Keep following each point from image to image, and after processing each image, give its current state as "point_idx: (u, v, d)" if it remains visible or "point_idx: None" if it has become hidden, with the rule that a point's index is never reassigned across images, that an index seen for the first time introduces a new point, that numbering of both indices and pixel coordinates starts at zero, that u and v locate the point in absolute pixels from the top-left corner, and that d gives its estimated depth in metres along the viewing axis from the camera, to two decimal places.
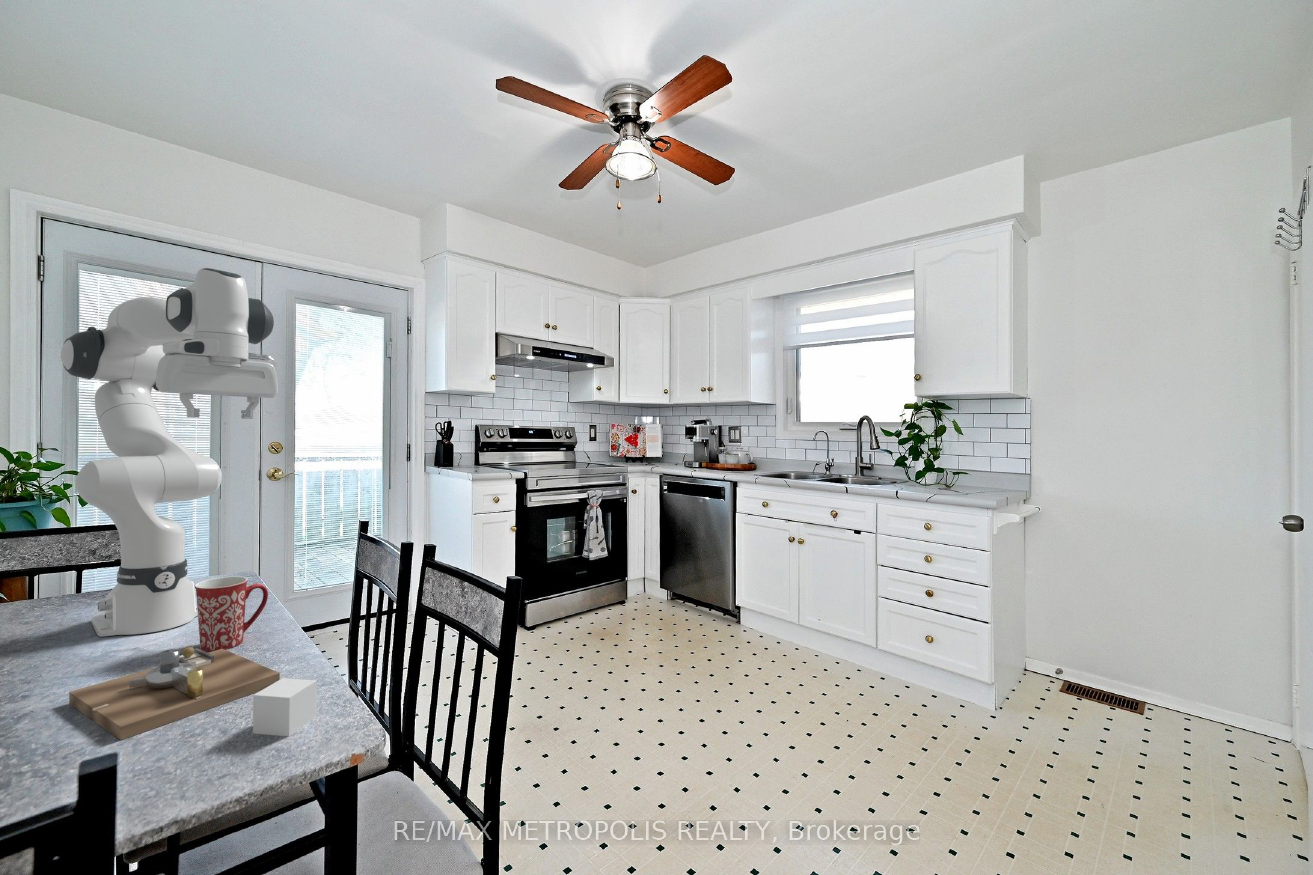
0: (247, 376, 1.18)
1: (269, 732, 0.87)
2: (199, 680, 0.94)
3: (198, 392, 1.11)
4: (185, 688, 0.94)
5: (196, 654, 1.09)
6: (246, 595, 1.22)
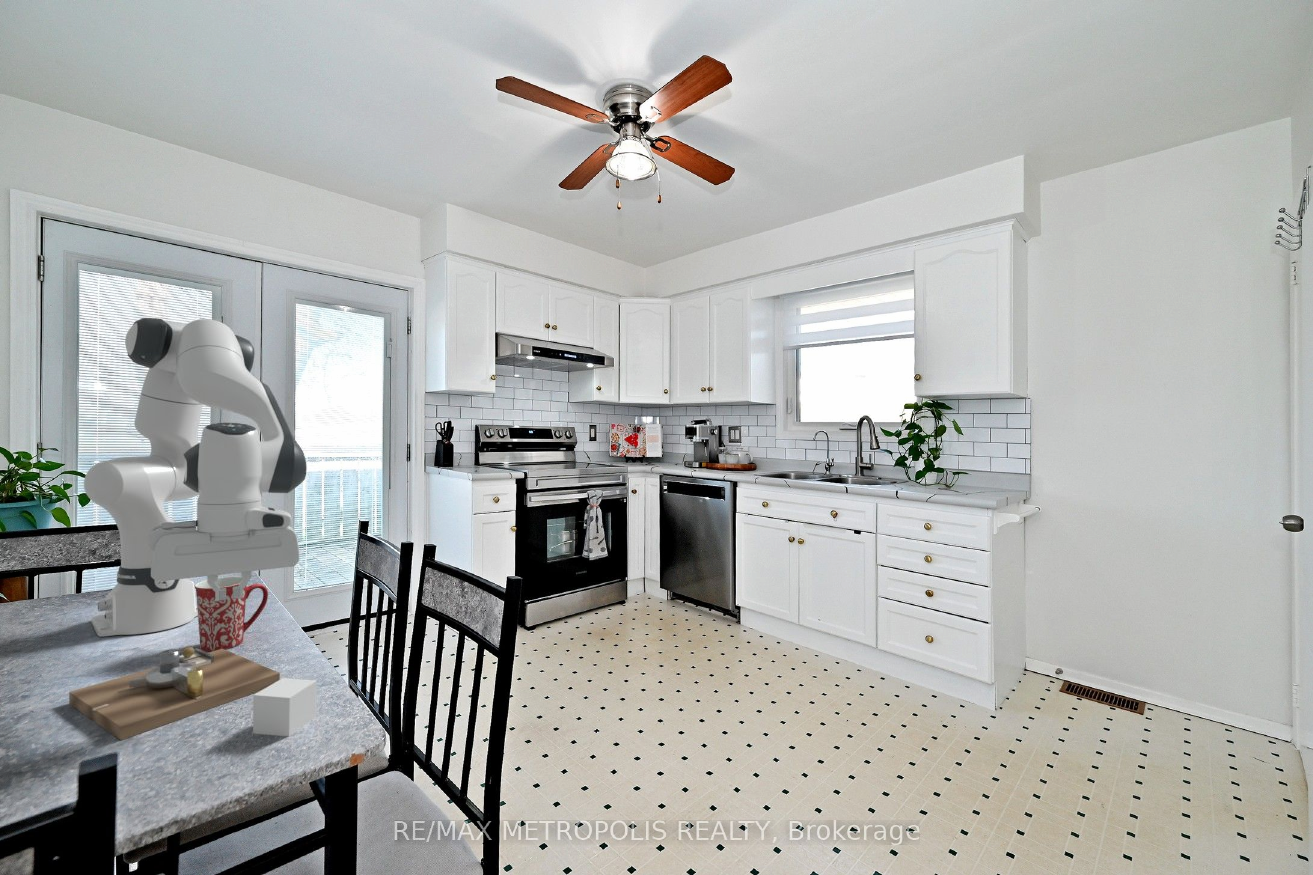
0: None
1: (269, 732, 0.87)
2: (199, 680, 0.94)
3: None
4: (185, 688, 0.94)
5: (196, 654, 1.09)
6: (246, 595, 1.22)
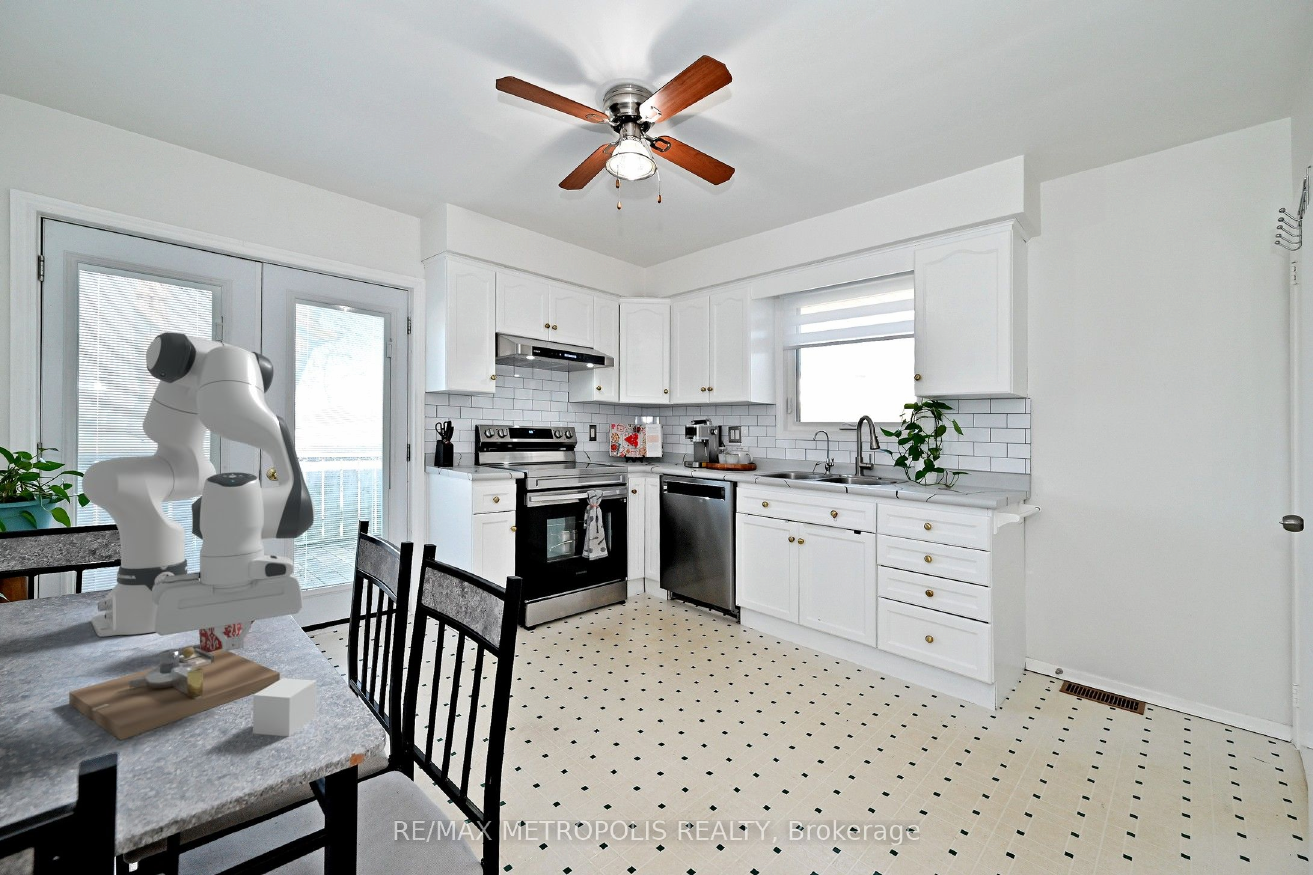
0: None
1: (269, 732, 0.87)
2: (199, 680, 0.94)
3: None
4: (185, 688, 0.94)
5: (196, 654, 1.09)
6: None
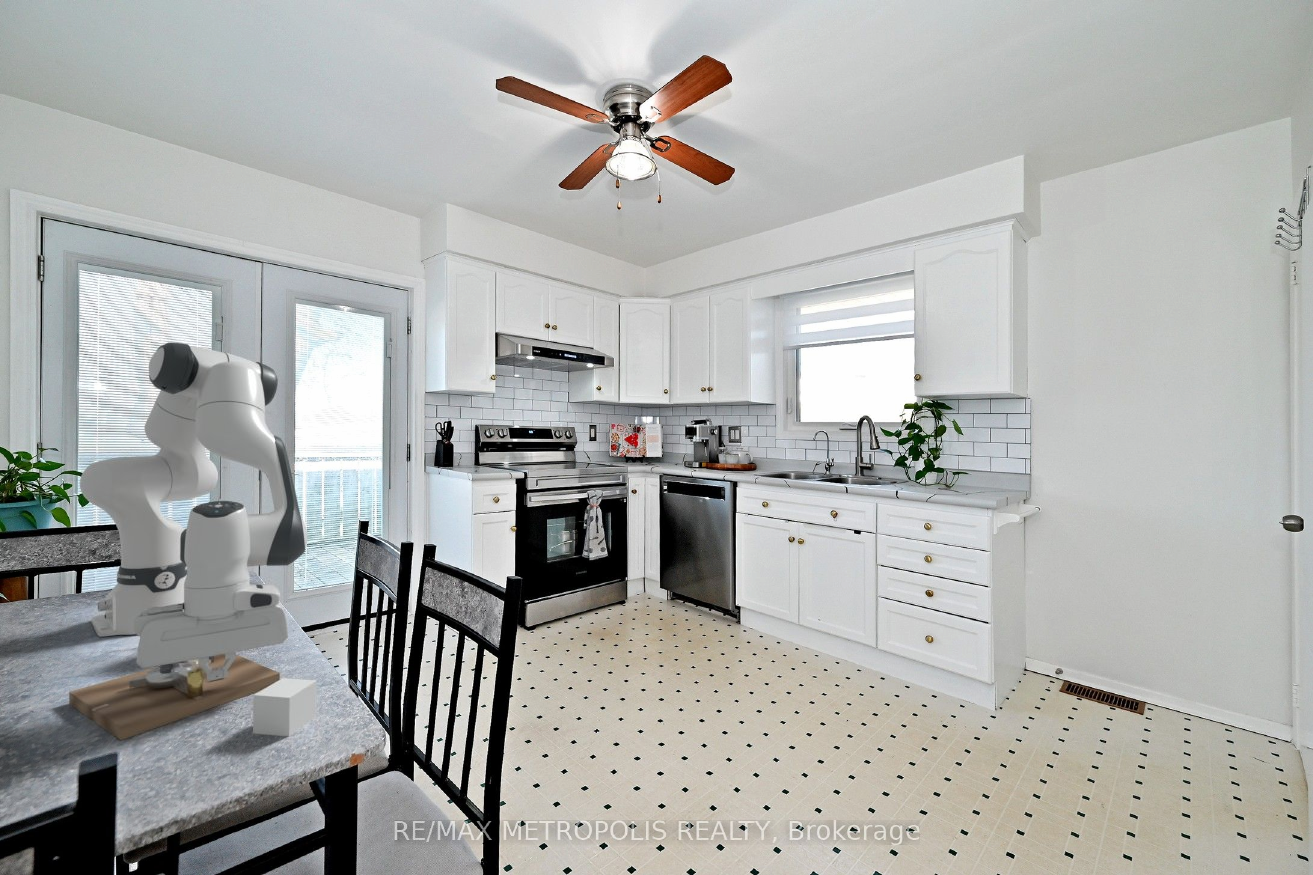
0: None
1: (269, 732, 0.87)
2: (199, 680, 0.94)
3: None
4: (185, 688, 0.94)
5: None
6: None
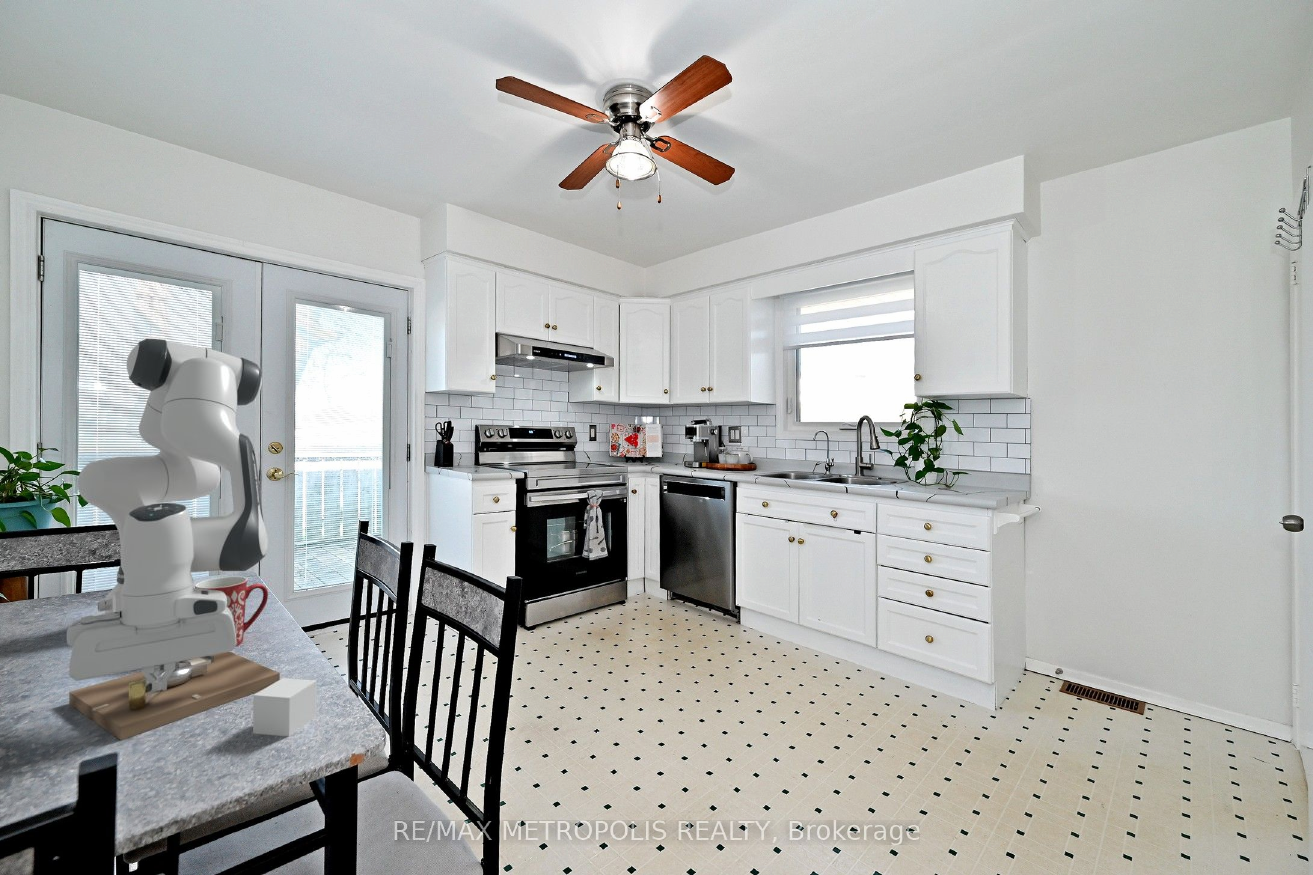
0: None
1: (269, 732, 0.87)
2: (135, 693, 0.89)
3: None
4: None
5: None
6: (246, 595, 1.22)
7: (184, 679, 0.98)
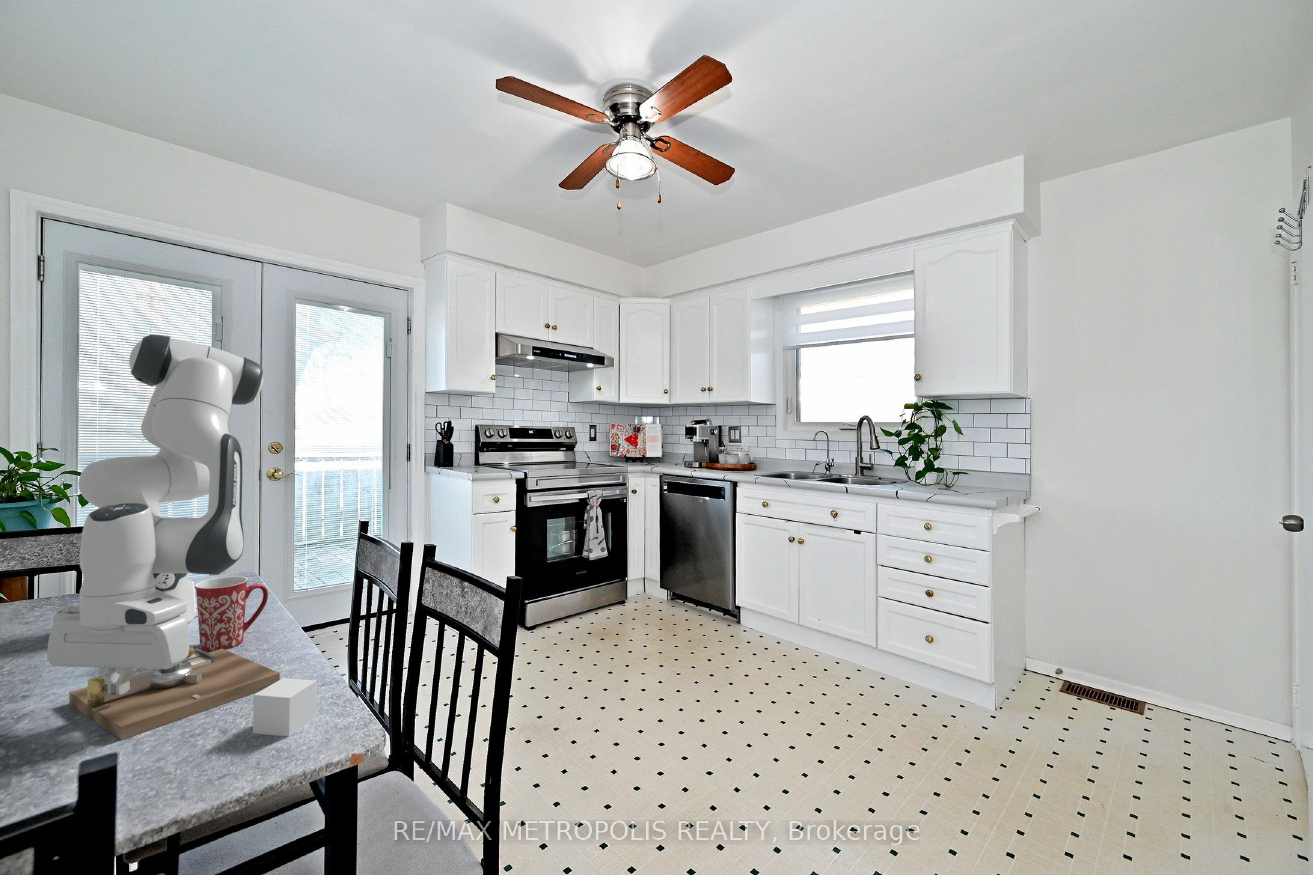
0: None
1: (269, 732, 0.87)
2: (89, 690, 0.89)
3: None
4: None
5: (196, 654, 1.09)
6: (246, 595, 1.22)
7: (167, 684, 0.96)
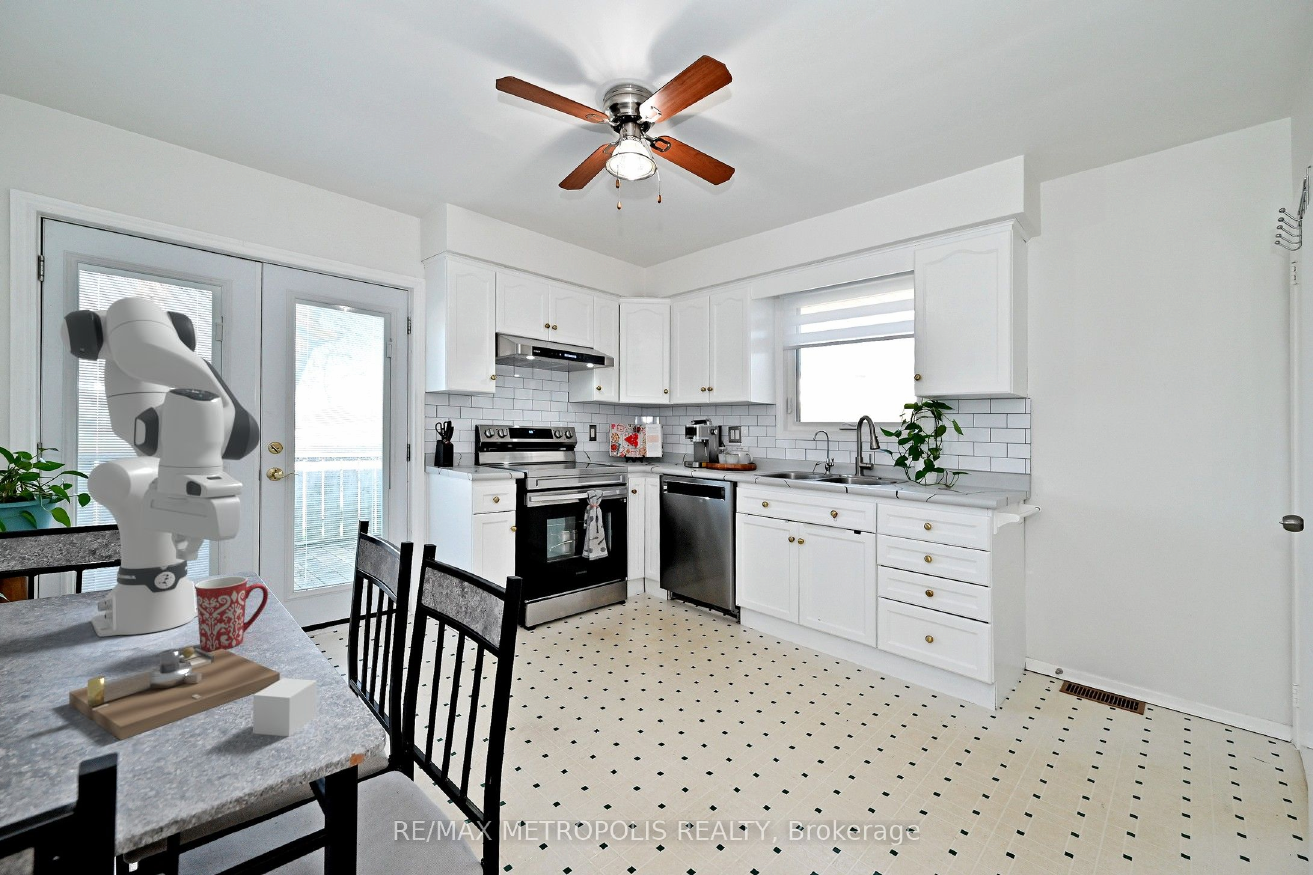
0: None
1: (269, 732, 0.87)
2: (89, 690, 0.89)
3: None
4: None
5: (196, 654, 1.09)
6: (246, 595, 1.22)
7: (167, 684, 0.96)
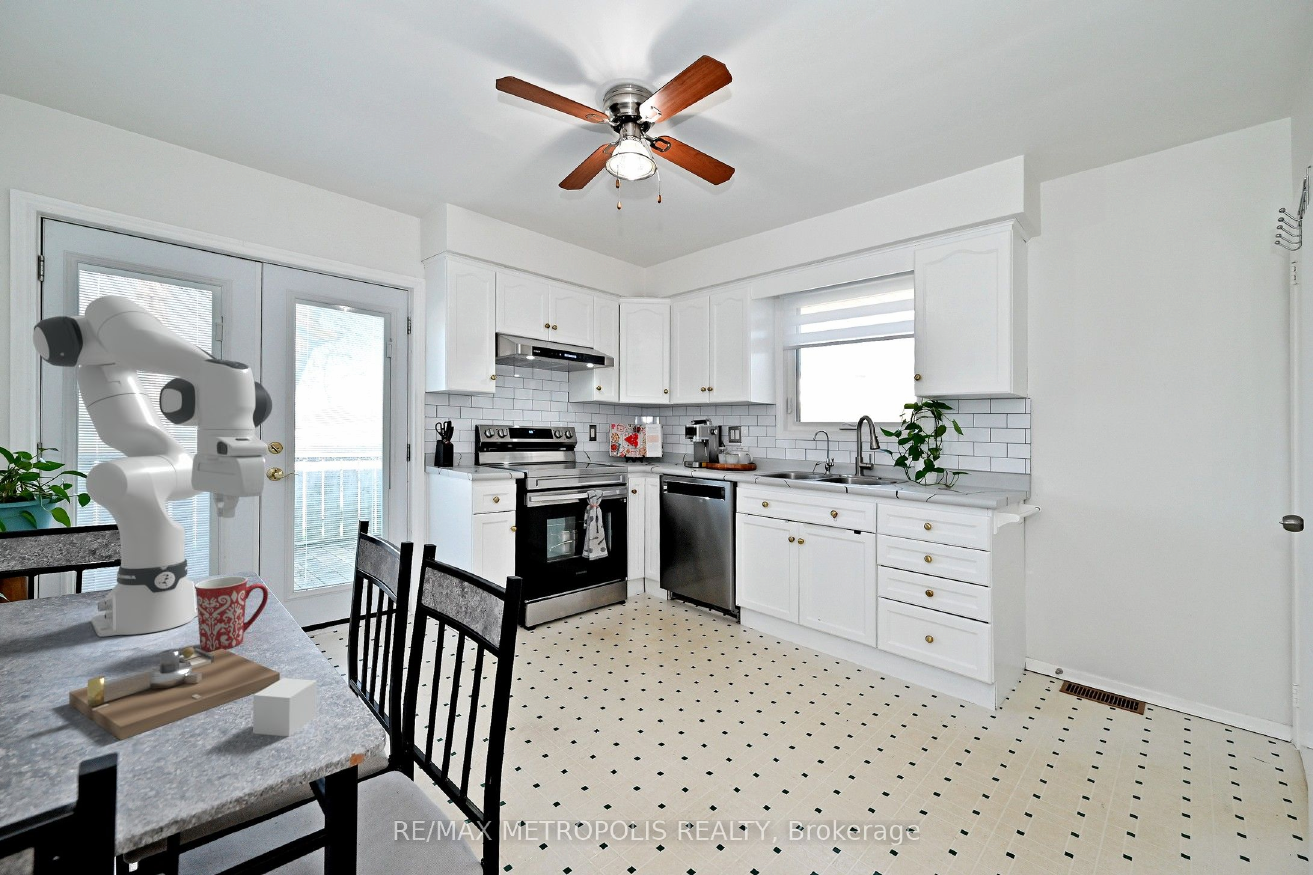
0: None
1: (269, 732, 0.87)
2: (89, 690, 0.89)
3: None
4: None
5: (196, 654, 1.09)
6: (246, 595, 1.22)
7: (167, 684, 0.96)
